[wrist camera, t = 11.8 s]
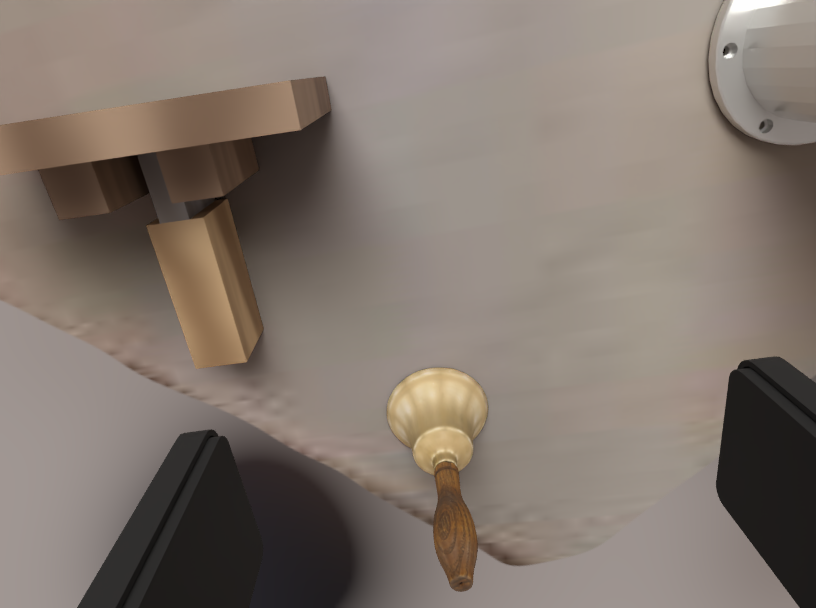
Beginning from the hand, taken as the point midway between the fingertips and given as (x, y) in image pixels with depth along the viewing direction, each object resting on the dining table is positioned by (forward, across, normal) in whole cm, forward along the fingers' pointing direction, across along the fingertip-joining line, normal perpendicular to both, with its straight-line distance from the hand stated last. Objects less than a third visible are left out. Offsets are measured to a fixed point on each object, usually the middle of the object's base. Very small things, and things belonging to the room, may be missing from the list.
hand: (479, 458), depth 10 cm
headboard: (+28, +15, -4) cm, 32 cm away
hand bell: (+29, +1, +19) cm, 34 cm away
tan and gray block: (+28, +15, +3) cm, 32 cm away
